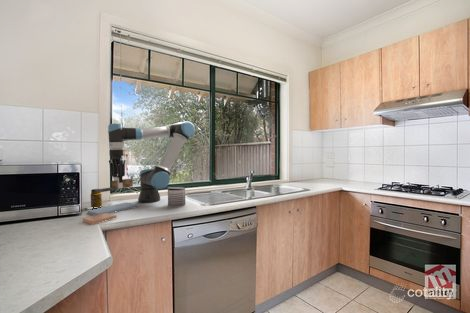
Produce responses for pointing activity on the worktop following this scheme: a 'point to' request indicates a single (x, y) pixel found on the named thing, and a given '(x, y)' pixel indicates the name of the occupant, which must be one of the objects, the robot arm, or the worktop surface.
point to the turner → (115, 185)
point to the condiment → (95, 198)
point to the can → (176, 196)
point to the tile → (98, 218)
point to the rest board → (112, 208)
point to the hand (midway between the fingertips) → (118, 187)
